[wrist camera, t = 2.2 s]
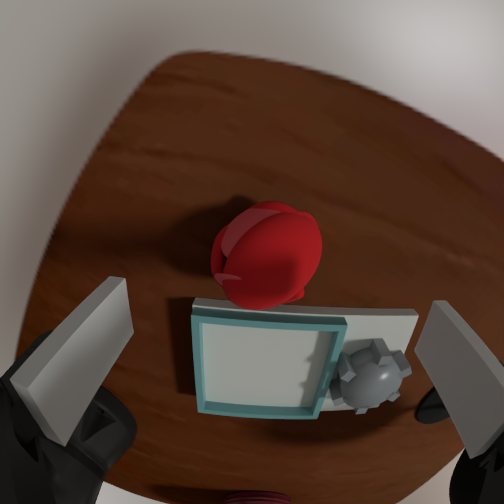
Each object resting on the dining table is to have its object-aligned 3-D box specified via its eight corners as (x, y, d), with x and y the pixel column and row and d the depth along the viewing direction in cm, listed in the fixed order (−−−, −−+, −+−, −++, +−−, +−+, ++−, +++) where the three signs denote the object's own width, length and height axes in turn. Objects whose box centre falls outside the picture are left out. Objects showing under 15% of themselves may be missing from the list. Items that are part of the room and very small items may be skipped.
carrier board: (200, 395, 27) (194, 422, 23) (195, 297, 23) (184, 322, 19) (375, 399, 27) (384, 423, 23) (413, 308, 22) (431, 331, 19)
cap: (225, 324, 20) (304, 342, 16) (181, 265, 16) (273, 276, 13) (271, 245, 24) (340, 249, 21) (244, 186, 21) (322, 180, 17)
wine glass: (490, 361, 25) (559, 465, 6) (460, 412, 29) (506, 509, 10) (433, 376, 26) (501, 513, 7) (405, 428, 29) (443, 546, 10)
